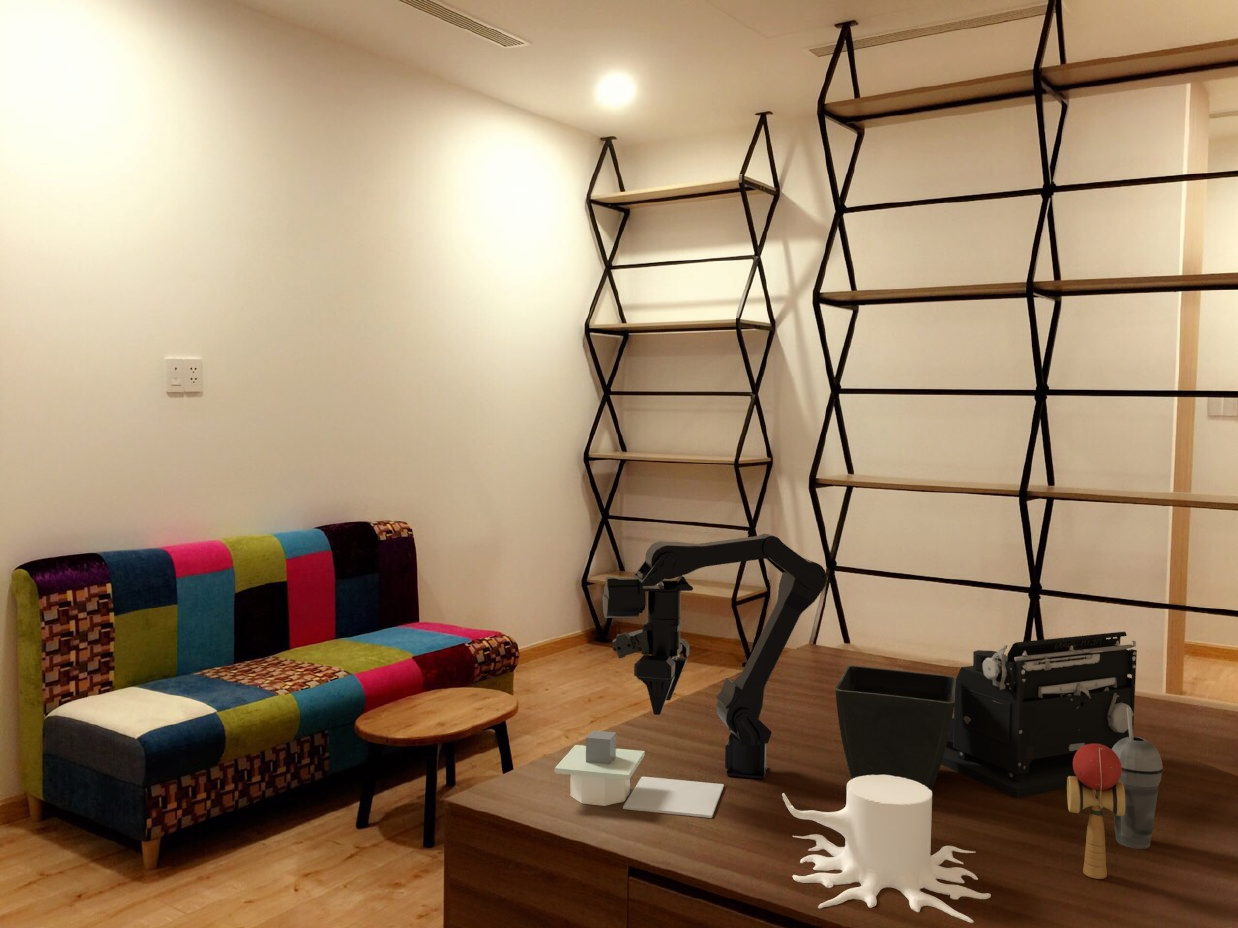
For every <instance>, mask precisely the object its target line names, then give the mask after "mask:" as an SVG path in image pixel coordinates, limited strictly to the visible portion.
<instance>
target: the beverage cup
mask: <svg viewBox="0 0 1238 928" xmlns="http://www.w3.org/2000/svg"><path fill="white" fill-rule="evenodd" d="M1127 717H1128V728H1129V737H1126V738H1123V739H1121V740H1119V741H1118V742H1117V743H1116V744H1115V745H1114V746H1113V748H1112V750H1113V751H1114V752H1115V753H1116V755H1117V756H1118V758H1119V760H1120V762H1121V766H1122V773H1121V777H1120V779H1119V781H1118V782H1122V783H1123V785H1124V791H1125V814H1124V816H1116V815H1115V814H1114V813H1113V823H1114V824H1113V825H1114V835H1115V841H1116V842H1117V843H1118V844H1119V845H1121V846H1125V847H1126V848H1130V849H1135V850H1136V849H1137V850H1145V849H1148V848H1150V847H1151V841H1152V837H1153V832H1154V831H1153V830H1154V823H1155V816H1156V815H1155V814H1156V808H1157V802H1158V801H1157V800H1158V792H1159V785H1160V783H1161V781H1162V777H1163V772H1165V771H1164V770H1165V769H1164V767H1163V761H1162V760H1163V759H1162V757H1161V755H1160V753H1159V751H1158V749H1157V747H1155V745H1154V744H1152V743H1151V742H1150V741H1149V740H1147V739H1145V738H1142V737H1140V736H1134V729H1133V730H1132V719H1131V709H1130V707H1127Z"/></svg>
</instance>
